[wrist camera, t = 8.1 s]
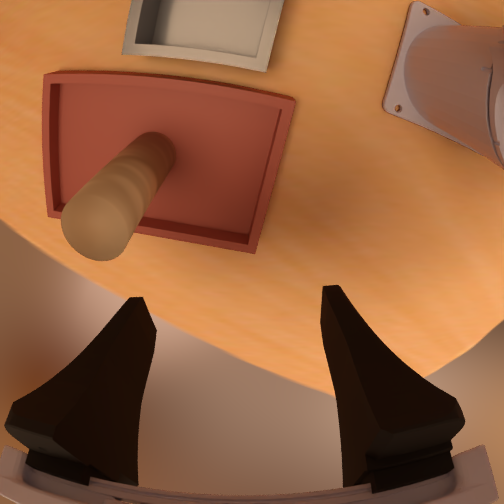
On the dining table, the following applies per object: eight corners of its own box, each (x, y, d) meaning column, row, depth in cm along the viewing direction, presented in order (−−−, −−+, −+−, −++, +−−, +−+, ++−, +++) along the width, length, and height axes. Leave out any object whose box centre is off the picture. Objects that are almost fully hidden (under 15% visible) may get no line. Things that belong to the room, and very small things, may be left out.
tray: (292, 97, 17) (295, 101, 16) (254, 239, 23) (255, 253, 22) (58, 70, 16) (43, 74, 14) (59, 205, 21) (48, 216, 20)
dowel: (179, 135, 18) (128, 201, 11) (172, 180, 20) (127, 267, 13) (132, 128, 18) (58, 189, 11) (128, 172, 20) (64, 253, 12)
